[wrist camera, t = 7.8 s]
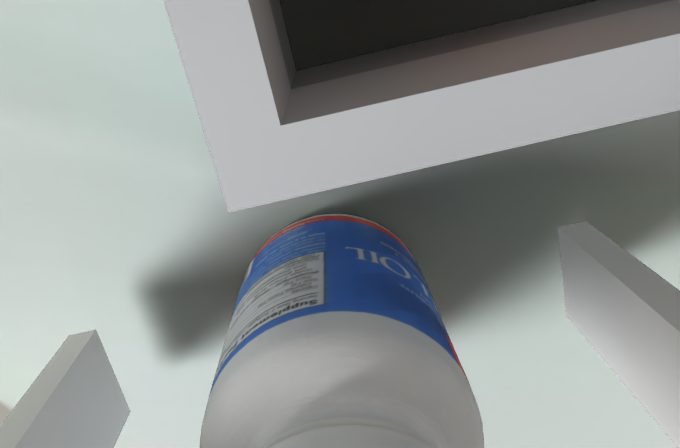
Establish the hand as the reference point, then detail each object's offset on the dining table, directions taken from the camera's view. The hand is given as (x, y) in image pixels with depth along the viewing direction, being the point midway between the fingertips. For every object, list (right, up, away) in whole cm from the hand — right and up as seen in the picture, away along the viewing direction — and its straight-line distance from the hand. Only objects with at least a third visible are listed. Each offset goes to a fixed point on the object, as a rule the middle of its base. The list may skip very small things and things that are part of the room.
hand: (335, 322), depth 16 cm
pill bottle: (0, +1, +2) cm, 2 cm away
